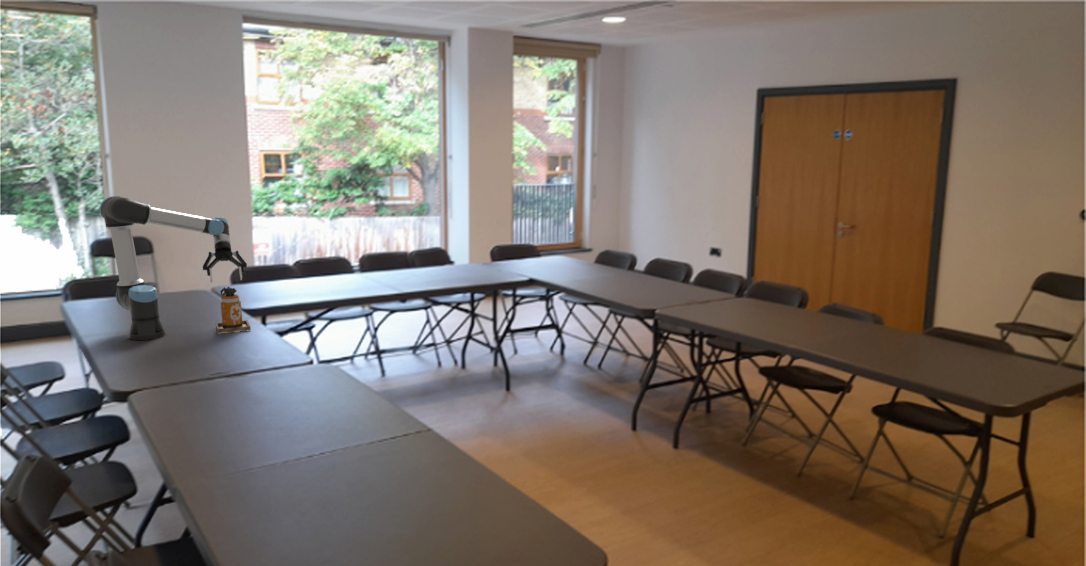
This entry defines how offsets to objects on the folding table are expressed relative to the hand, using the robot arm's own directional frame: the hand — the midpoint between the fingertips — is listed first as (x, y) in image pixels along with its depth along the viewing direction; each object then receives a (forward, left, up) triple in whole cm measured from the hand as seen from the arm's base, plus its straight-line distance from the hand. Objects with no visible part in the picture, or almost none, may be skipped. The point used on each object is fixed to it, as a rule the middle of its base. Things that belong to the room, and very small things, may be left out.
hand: (226, 279), depth 374 cm
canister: (0, -11, -22) cm, 24 cm away
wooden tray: (0, -11, -23) cm, 25 cm away
